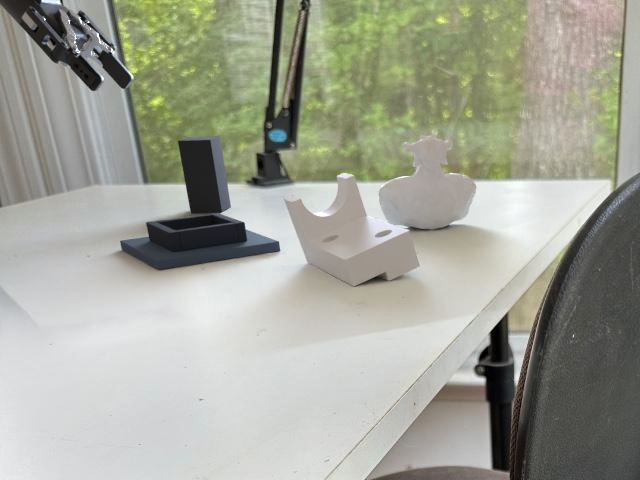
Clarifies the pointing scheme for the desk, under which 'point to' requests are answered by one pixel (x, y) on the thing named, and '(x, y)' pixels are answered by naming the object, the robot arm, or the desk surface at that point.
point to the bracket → (352, 238)
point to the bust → (427, 189)
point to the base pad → (196, 241)
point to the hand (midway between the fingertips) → (114, 85)
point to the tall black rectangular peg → (204, 174)
